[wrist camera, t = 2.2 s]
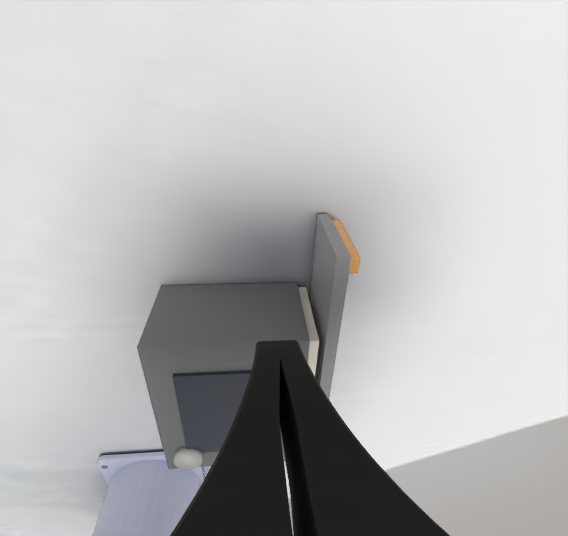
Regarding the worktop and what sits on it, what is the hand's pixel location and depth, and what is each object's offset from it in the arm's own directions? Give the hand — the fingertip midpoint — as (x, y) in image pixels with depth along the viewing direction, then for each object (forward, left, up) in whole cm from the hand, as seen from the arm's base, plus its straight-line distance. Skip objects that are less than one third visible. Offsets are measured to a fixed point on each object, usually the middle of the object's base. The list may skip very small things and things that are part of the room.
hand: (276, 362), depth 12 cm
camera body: (-8, +2, -9) cm, 12 cm away
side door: (-5, -3, -8) cm, 10 cm away
